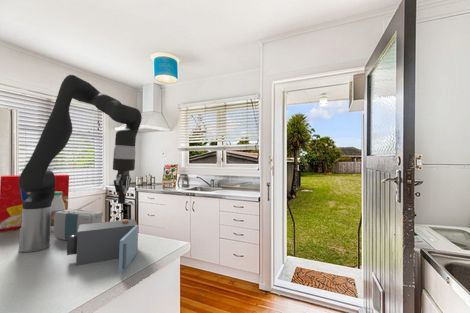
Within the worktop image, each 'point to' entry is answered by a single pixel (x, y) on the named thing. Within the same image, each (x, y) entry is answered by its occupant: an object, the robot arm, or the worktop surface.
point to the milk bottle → (56, 207)
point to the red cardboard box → (21, 200)
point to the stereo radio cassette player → (73, 221)
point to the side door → (128, 249)
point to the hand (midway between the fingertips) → (121, 203)
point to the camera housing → (98, 240)
